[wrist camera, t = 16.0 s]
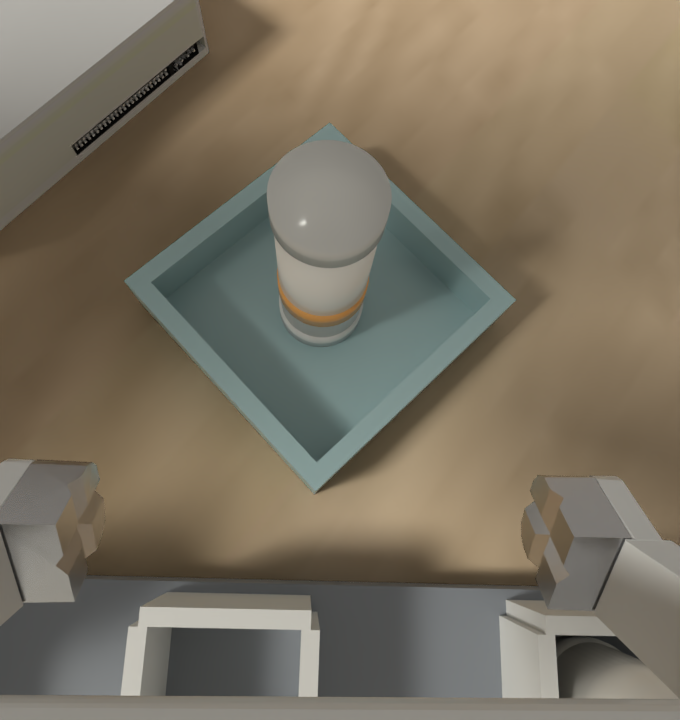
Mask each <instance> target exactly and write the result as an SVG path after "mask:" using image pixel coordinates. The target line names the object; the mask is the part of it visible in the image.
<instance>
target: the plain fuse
mask: <svg viewBox="0 0 680 720" xmlns="http://www.w3.org/2000/svg"><path fill="white" fill-rule="evenodd" d="M555 641H556V657H557V673H558V689H559V698H604V699H679V698H678V697H677V696H676V695H675V694H674V693H673V692H672V691H671V690H670V689H669V688H668V687H667V686H666V685H665V684H664V683H663V682H662V681H661V680H660V679H659V678H658V677H657V676H656V675H655V674H654V673H653V672H652V671H651V670H650V669H649V668H648V667H647V666H646V665H645V664H644V663H643V662H642V661H641V660H640V659H637V658H635V657H632V656H630V655H628V654H625V653H623V652H621V651H620V650H618V649H617V648H616V647H614V646H612V645H610V644H608V643H606V642H603V641H601V640H599V639H596V638H594V637H591V636H582V635H562V636H559V637H557V638H556V639H555Z"/></svg>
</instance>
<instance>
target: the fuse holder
mask: <svg viewBox="0 0 680 720" xmlns="http://www.w3.org/2000/svg"><path fill="white" fill-rule="evenodd" d="M562 635H582V636H591V637H594V638H596V639H599V640H601V641H603V642H606V643H608V644H610V645H612V646H614V647H616V648H617V649H618V650H620V651H621V652H623V653H625V654H628V655H630V656H632V657H635V658H637V659H639V658H638V657H637V656H636V655H635V654H634V653H633V652H632V651H631V650H630V649H629V648H628V647H627V646H626V645H625V644H624V643H623V642H622V641H621V640H620V639H619V638H618V637H617V636H616V635H615V634H614V633H613V632H612V631H611V630H610V629H609V628H608V627H607V626H606V625H605V624H604V623H603V622H602V621H601V620H600V619H599V618H598V617H597V616H596V615H595V614H594V611H578V610H554V609H547V606H546V604H545V601H544V599H543V596H542V594H541V591H540V589H539V586H513V585H471V584H430V583H388V582H347V581H306V580H264V579H223V578H181V577H140V576H98V575H86V577H85V579H84V581H83V584H82V586H81V588H80V591H79V593H78V595H77V598H76V600H75V602H36V603H23V606H22V607H21V608H20V609H19V610H18V611H17V612H16V613H14V614H13V615H12V616H11V617H10V618H9V619H8V620H7V621H5V622H4V623H3V624H2V625H1V626H0V695H111V696H269V697H425V698H559V689H558V673H557V657H556V641H555V639H556V638H557V637H559V636H562Z"/></svg>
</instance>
